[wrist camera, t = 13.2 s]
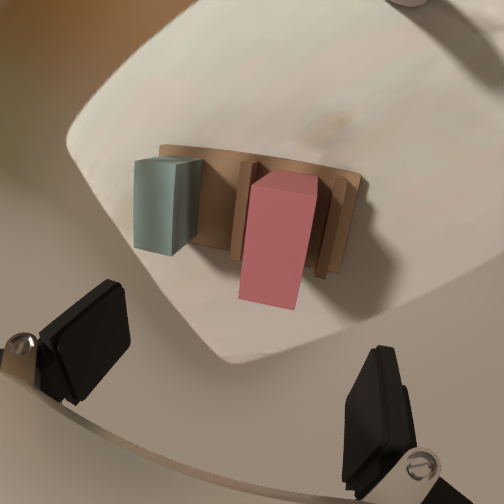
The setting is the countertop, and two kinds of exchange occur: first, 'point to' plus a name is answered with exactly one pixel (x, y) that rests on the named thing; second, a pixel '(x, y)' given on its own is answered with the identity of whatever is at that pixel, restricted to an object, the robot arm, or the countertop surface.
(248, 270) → the dusty red block
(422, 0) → the beverage can
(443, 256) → the countertop surface
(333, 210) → the rack
